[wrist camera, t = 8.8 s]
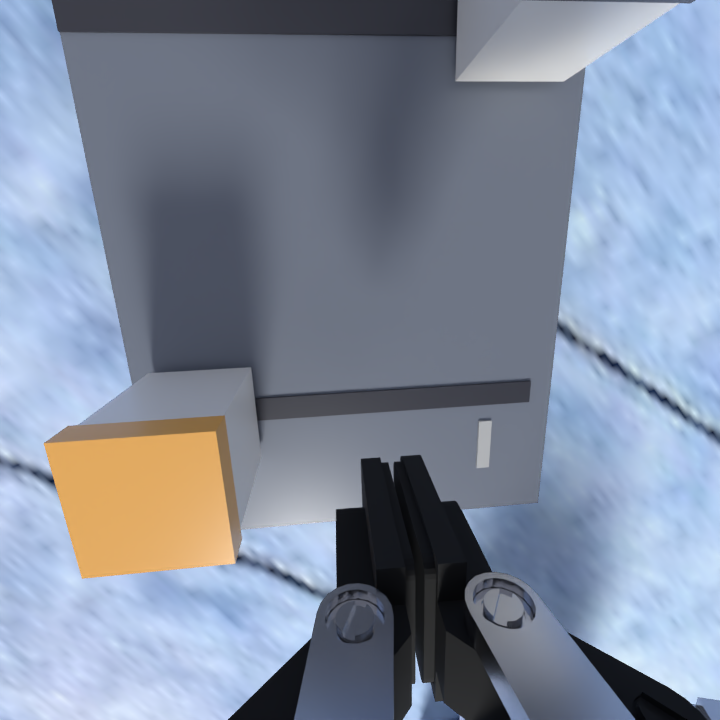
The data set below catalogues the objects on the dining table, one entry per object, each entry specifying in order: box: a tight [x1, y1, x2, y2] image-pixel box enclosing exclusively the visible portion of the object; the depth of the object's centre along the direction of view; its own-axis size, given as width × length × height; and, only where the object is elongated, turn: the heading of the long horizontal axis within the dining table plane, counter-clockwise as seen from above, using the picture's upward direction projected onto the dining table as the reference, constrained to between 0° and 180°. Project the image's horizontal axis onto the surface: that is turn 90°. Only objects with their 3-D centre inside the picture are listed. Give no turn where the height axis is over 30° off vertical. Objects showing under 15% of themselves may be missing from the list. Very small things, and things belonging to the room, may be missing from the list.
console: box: [52, 0, 585, 530], centre depth 16 cm, size 18×26×2 cm
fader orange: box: [44, 367, 261, 578], centre depth 14 cm, size 4×4×6 cm
